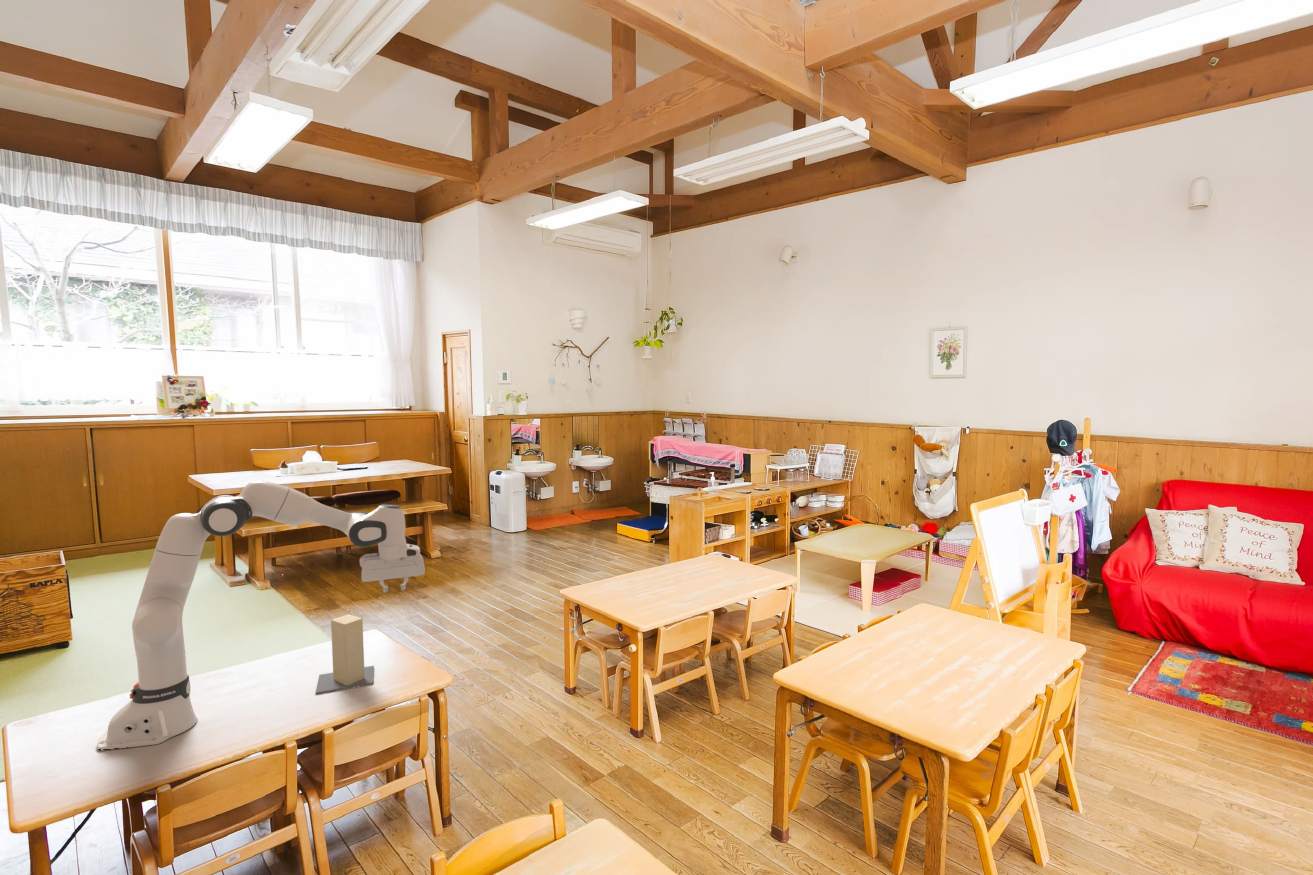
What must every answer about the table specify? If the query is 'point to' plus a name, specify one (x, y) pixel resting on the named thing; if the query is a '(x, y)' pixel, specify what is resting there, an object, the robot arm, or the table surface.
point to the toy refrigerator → (347, 649)
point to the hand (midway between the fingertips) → (394, 590)
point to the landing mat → (329, 685)
